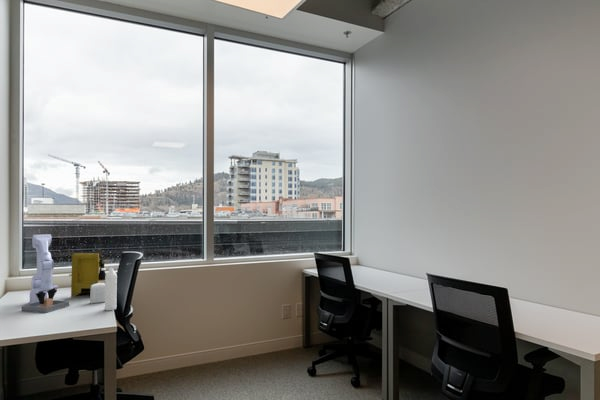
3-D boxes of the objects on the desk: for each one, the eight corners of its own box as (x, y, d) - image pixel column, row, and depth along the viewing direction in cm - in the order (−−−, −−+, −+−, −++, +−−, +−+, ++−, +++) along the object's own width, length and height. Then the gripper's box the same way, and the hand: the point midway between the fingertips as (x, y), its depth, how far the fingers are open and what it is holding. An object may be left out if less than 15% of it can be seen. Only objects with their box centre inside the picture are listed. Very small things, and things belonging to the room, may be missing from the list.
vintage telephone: (118, 292, 272) (119, 251, 273) (109, 297, 258) (110, 253, 259) (74, 292, 271) (75, 251, 272) (63, 297, 257) (64, 253, 258)
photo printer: (107, 300, 248) (107, 281, 248) (108, 301, 244) (108, 282, 245) (89, 302, 242) (90, 283, 242) (90, 304, 239) (90, 284, 239)
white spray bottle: (115, 307, 231) (116, 266, 232) (117, 309, 226) (118, 268, 226) (99, 309, 226) (100, 267, 227) (101, 311, 221) (102, 269, 221)
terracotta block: (40, 308, 226) (40, 299, 226) (46, 306, 230) (46, 298, 230) (46, 308, 225) (47, 300, 225) (52, 306, 229) (52, 298, 229)
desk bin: (21, 310, 222) (21, 305, 222) (45, 304, 237) (45, 299, 237) (46, 312, 217) (46, 307, 217) (69, 306, 233) (69, 301, 233)
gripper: (41, 283, 220) (40, 306, 219) (62, 278, 234) (61, 300, 234) (31, 282, 221) (31, 305, 221) (53, 278, 236) (52, 299, 235)
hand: (46, 302), depth 227 cm, fingers open, 5 cm apart
